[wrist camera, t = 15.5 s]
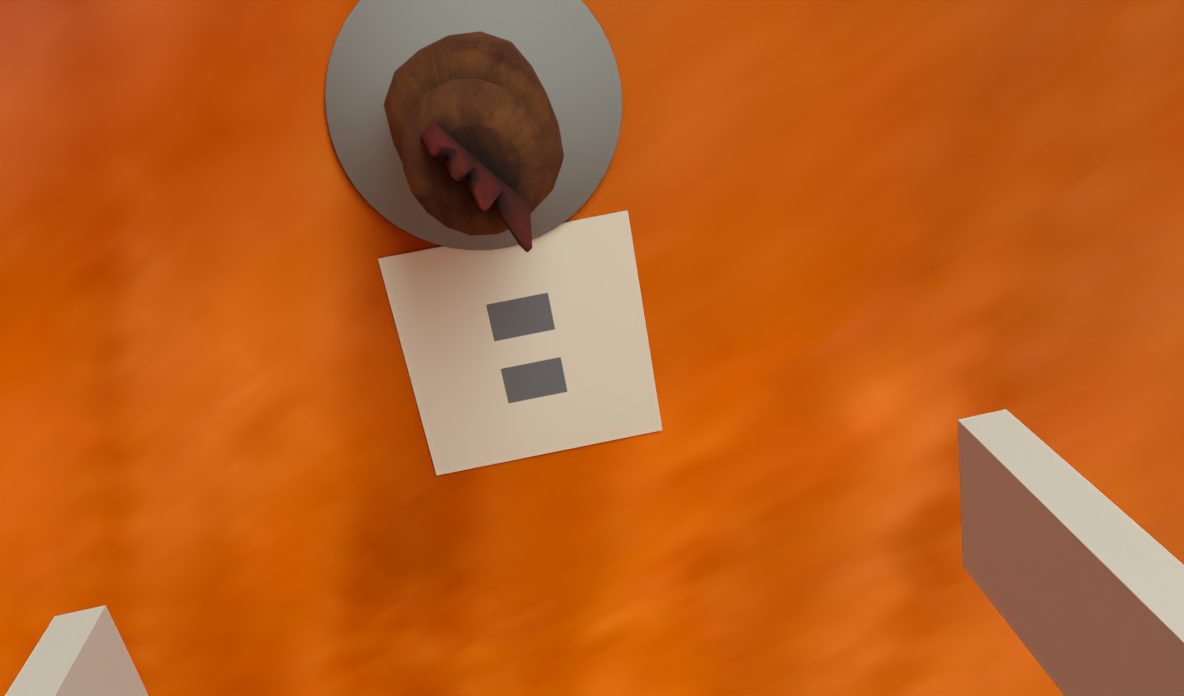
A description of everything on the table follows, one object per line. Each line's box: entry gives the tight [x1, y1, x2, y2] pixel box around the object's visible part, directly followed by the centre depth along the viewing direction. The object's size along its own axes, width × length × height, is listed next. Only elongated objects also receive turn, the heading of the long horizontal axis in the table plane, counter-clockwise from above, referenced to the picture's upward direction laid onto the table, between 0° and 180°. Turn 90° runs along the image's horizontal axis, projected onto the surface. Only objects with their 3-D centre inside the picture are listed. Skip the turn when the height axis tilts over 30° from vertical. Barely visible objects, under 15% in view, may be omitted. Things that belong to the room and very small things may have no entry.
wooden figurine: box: [384, 31, 564, 253], centre depth 33 cm, size 7×6×15 cm
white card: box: [378, 210, 662, 476], centre depth 44 cm, size 11×11×1 cm
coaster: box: [325, 0, 622, 250], centre depth 40 cm, size 12×12×1 cm
